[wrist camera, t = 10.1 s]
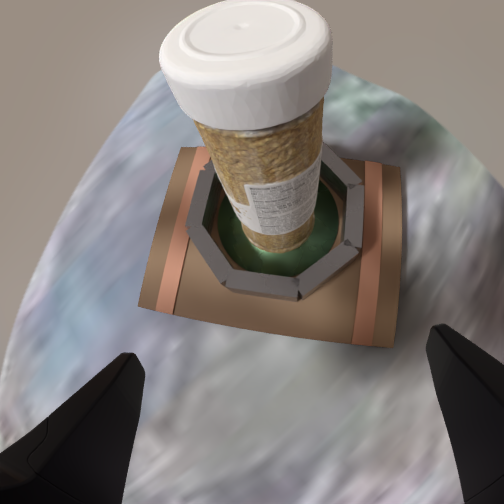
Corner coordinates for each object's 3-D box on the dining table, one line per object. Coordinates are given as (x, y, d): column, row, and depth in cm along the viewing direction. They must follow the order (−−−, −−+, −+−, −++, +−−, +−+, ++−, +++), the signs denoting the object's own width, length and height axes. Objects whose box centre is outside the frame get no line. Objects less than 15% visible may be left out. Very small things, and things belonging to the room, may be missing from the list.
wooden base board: (388, 347, 17) (393, 347, 16) (144, 308, 20) (137, 306, 18) (396, 174, 20) (400, 166, 19) (185, 154, 23) (180, 146, 21)
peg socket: (349, 308, 17) (356, 305, 15) (185, 284, 19) (172, 277, 17) (359, 160, 19) (364, 143, 17) (218, 147, 21) (211, 131, 19)
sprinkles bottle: (236, 197, 20) (156, 16, 7) (304, 181, 19) (299, -17, 6) (250, 264, 18) (151, 104, 5) (324, 246, 18) (366, 57, 5)
